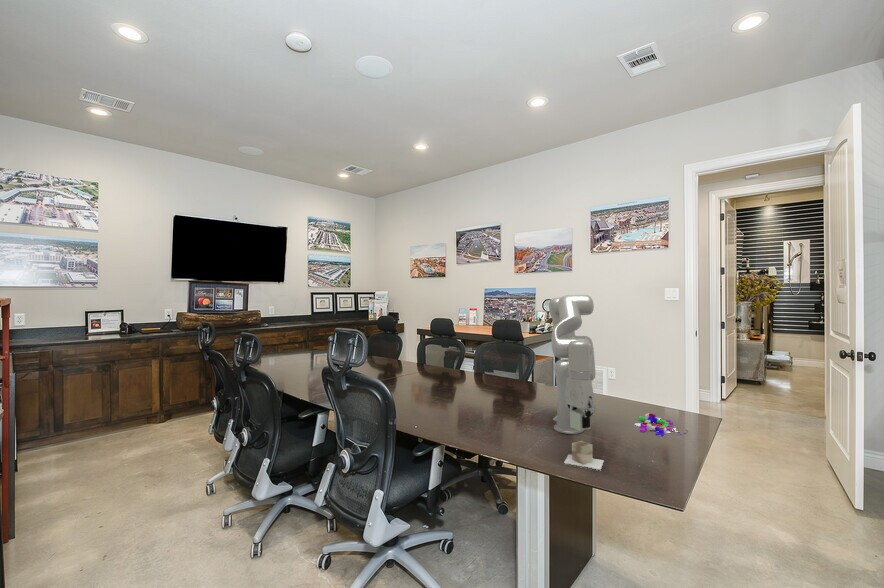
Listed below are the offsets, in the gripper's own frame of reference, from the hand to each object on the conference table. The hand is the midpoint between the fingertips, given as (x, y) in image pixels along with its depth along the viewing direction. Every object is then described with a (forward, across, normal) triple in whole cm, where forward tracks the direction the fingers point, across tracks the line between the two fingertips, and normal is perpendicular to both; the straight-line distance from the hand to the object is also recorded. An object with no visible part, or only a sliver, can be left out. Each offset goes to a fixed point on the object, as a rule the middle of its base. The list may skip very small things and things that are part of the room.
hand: (580, 425), depth 144 cm
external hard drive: (+15, +1, +1) cm, 15 cm away
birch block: (+13, 0, 0) cm, 13 cm away
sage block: (+1, 0, 0) cm, 1 cm away
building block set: (+14, -14, +59) cm, 62 cm away
